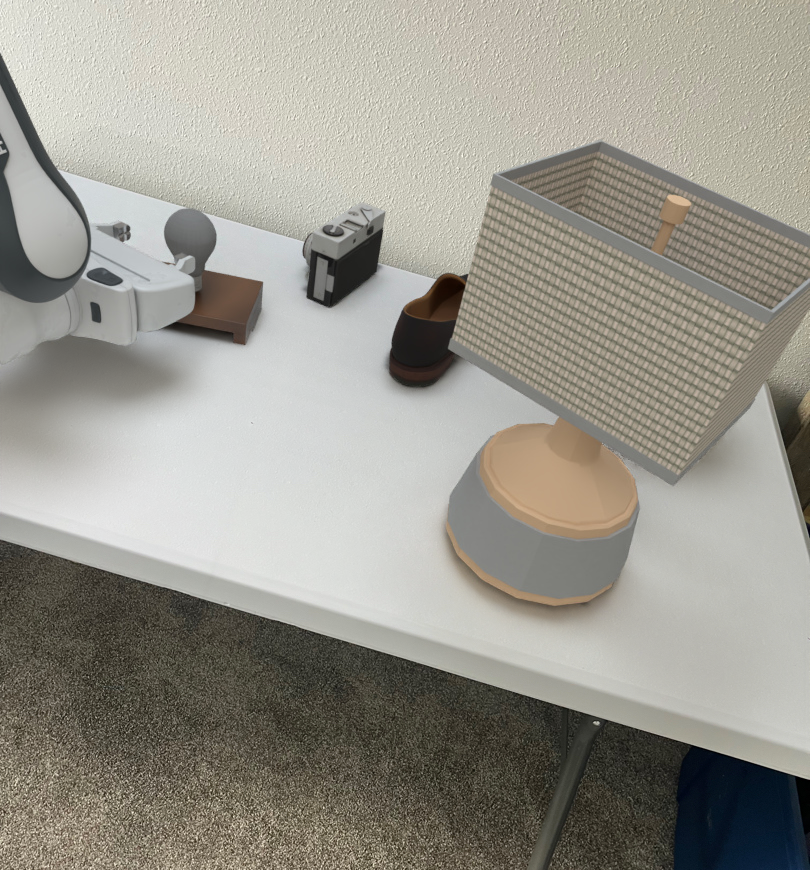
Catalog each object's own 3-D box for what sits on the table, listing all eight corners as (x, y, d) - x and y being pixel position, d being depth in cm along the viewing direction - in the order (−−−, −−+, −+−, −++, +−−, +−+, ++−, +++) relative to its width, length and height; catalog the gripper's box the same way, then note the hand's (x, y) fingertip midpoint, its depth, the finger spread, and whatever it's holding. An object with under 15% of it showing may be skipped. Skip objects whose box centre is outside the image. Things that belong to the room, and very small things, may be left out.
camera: (331, 254, 119) (339, 188, 112) (378, 273, 117) (389, 208, 110) (281, 287, 109) (286, 217, 102) (332, 309, 108) (341, 240, 101)
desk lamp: (393, 531, 80) (484, 163, 54) (496, 457, 92) (612, 125, 66) (568, 661, 72) (773, 306, 46) (657, 562, 84) (859, 234, 58)
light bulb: (200, 307, 95) (200, 228, 88) (156, 292, 95) (152, 211, 88) (224, 287, 99) (226, 210, 92) (181, 272, 100) (180, 194, 93)
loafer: (510, 316, 116) (529, 253, 109) (434, 405, 97) (453, 336, 90) (452, 292, 118) (468, 229, 111) (367, 375, 98) (380, 305, 91)
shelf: (114, 327, 95) (111, 298, 93) (140, 285, 103) (139, 256, 100) (244, 352, 97) (246, 324, 94) (261, 308, 105) (263, 281, 102)
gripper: (-8, 274, 84) (91, 236, 93) (138, 353, 79) (227, 305, 88) (-19, 217, 79) (85, 183, 89) (134, 296, 74) (228, 252, 84)
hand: (157, 244), depth 88 cm, fingers open, 8 cm apart
